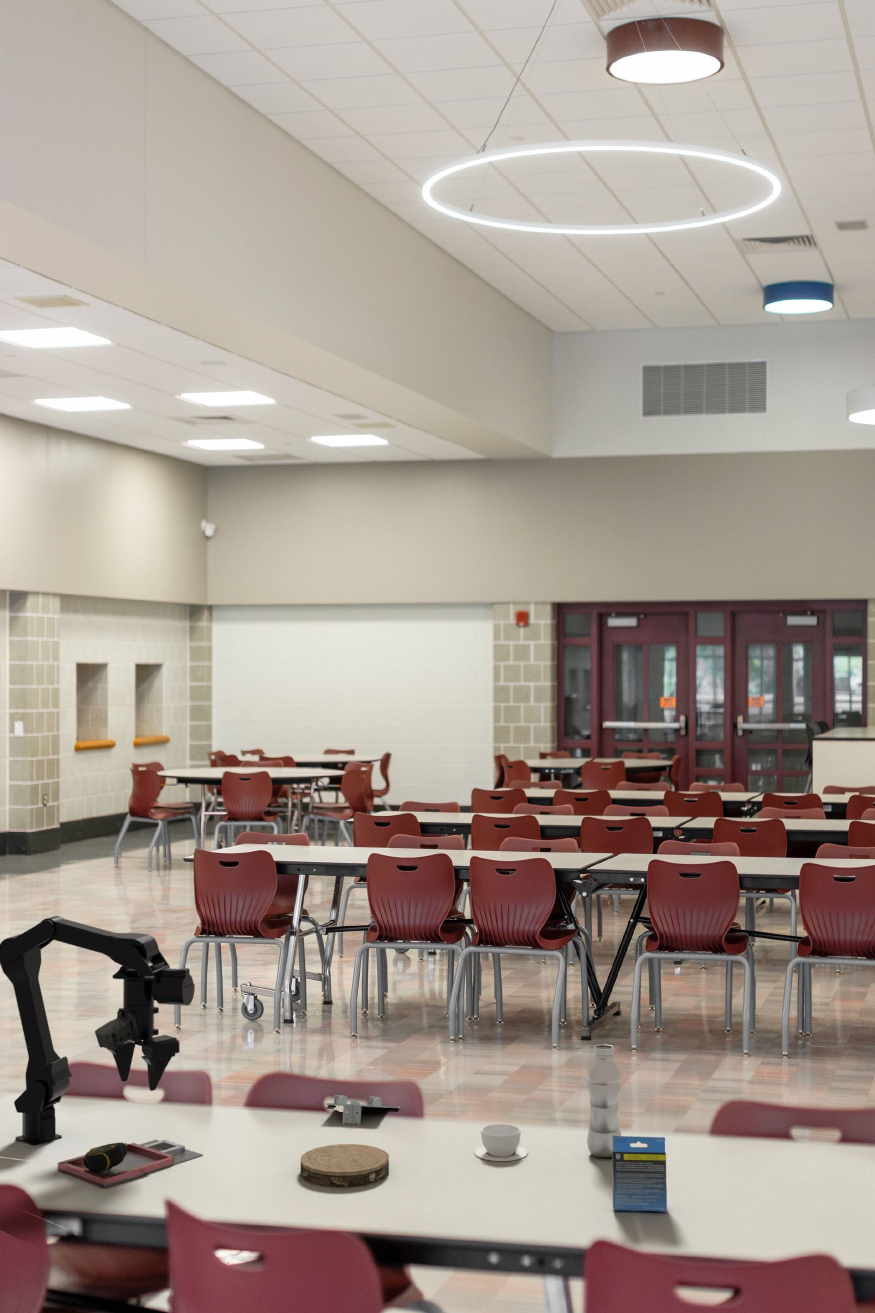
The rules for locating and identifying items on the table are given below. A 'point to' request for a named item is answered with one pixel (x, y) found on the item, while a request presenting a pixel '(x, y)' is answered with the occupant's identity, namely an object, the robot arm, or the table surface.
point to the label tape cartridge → (639, 1174)
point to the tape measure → (105, 1157)
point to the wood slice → (344, 1166)
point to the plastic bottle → (603, 1101)
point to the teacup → (501, 1143)
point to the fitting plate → (131, 1163)
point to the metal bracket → (355, 1108)
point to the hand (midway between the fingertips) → (138, 1085)
